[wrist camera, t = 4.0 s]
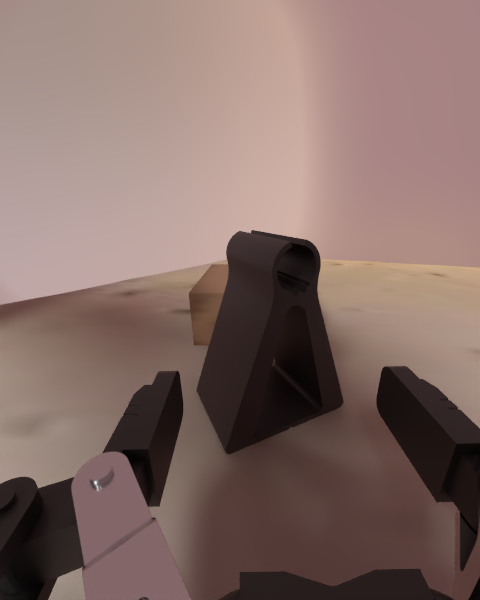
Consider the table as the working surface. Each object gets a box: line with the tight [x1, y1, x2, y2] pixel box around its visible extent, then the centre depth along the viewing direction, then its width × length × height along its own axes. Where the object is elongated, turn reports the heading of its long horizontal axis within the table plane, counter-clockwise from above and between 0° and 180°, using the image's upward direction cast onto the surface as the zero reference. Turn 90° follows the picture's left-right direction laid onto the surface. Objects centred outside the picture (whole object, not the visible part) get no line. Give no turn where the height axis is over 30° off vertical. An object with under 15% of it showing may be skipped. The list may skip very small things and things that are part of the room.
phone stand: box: [197, 230, 343, 454], centre depth 18 cm, size 9×6×12 cm, turn 114°
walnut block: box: [189, 265, 229, 345], centre depth 32 cm, size 12×12×6 cm
